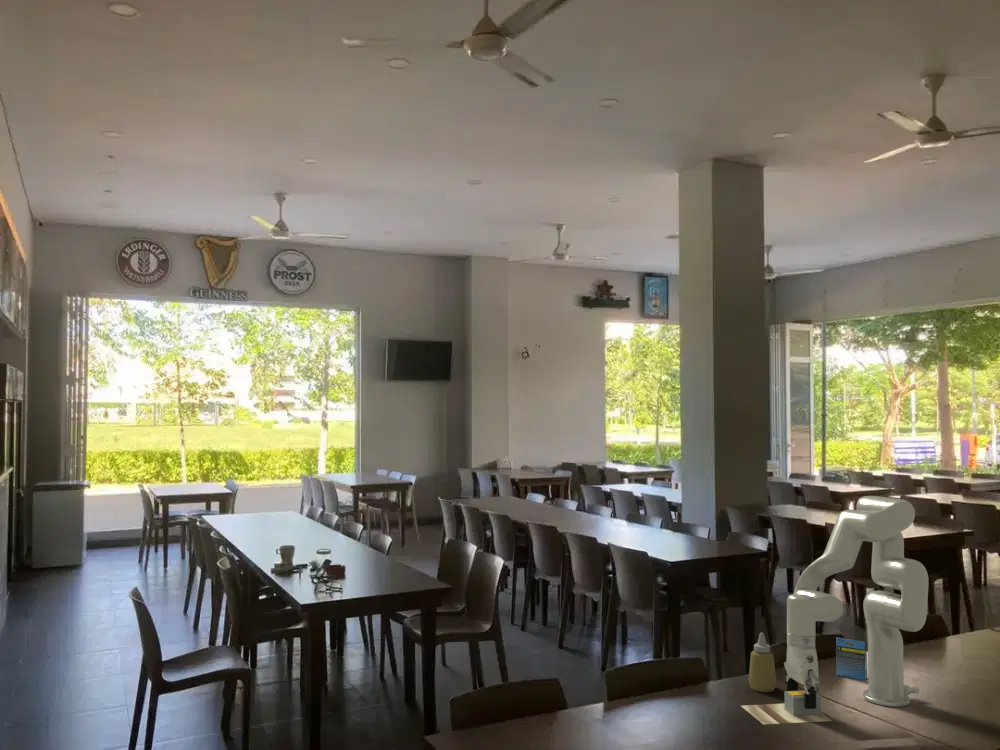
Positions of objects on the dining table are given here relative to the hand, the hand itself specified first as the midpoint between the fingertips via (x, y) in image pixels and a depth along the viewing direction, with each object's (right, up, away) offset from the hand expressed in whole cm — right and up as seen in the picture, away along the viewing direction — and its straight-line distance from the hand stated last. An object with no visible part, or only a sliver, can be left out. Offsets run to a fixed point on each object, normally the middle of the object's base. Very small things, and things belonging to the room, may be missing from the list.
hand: (801, 702), depth 224 cm
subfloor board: (-5, -4, -1) cm, 6 cm away
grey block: (0, -3, 0) cm, 3 cm away
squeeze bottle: (-4, -5, +19) cm, 21 cm away
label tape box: (+30, -6, +35) cm, 47 cm away
